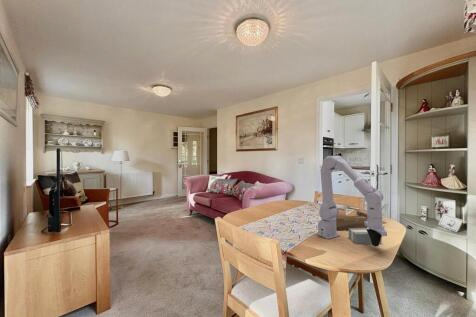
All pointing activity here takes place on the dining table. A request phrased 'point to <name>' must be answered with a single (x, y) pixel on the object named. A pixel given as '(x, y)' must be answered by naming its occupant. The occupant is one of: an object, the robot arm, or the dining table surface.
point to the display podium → (350, 222)
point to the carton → (360, 236)
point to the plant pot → (341, 212)
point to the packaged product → (364, 214)
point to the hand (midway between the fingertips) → (375, 245)
